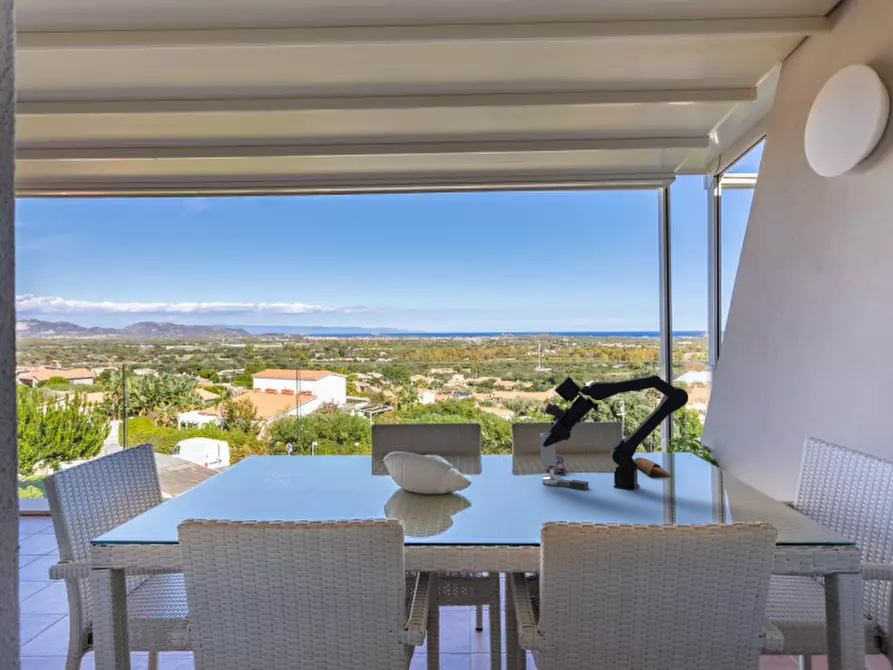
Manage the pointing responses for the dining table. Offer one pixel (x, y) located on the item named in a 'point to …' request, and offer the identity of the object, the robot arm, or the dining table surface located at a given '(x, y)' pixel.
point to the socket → (547, 451)
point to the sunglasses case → (651, 468)
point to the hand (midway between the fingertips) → (543, 444)
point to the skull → (558, 465)
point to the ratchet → (563, 482)
